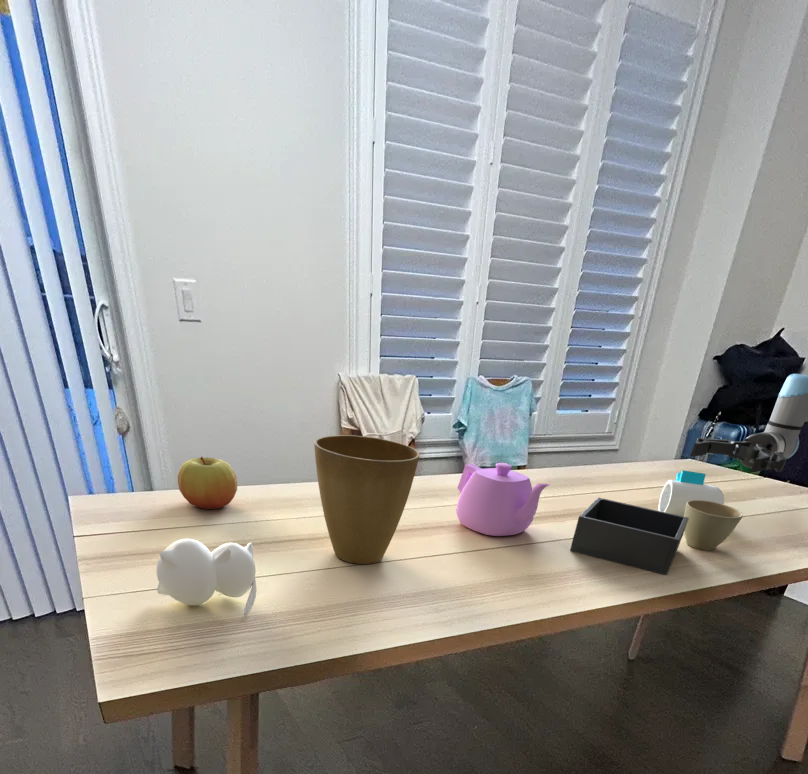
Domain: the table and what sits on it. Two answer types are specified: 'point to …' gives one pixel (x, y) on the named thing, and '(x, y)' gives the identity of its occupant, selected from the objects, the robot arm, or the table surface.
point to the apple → (207, 482)
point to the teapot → (496, 500)
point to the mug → (687, 492)
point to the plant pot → (363, 492)
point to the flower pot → (709, 523)
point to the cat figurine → (206, 572)
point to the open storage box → (629, 535)
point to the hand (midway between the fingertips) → (723, 457)
